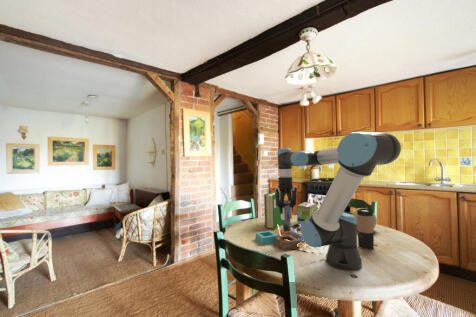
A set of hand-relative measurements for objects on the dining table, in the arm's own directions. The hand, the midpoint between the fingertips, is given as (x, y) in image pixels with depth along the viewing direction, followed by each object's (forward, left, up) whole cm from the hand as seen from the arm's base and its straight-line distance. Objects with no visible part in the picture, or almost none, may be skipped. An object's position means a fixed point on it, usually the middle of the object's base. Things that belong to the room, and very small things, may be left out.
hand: (286, 218), depth 123 cm
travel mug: (-15, -40, -16) cm, 46 cm away
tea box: (+33, -37, -16) cm, 52 cm away
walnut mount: (0, 0, -16) cm, 16 cm away
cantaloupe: (+6, -62, -16) cm, 64 cm away
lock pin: (0, 0, -6) cm, 6 cm away
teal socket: (+11, +7, -16) cm, 21 cm away
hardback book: (+38, -13, -16) cm, 43 cm away
